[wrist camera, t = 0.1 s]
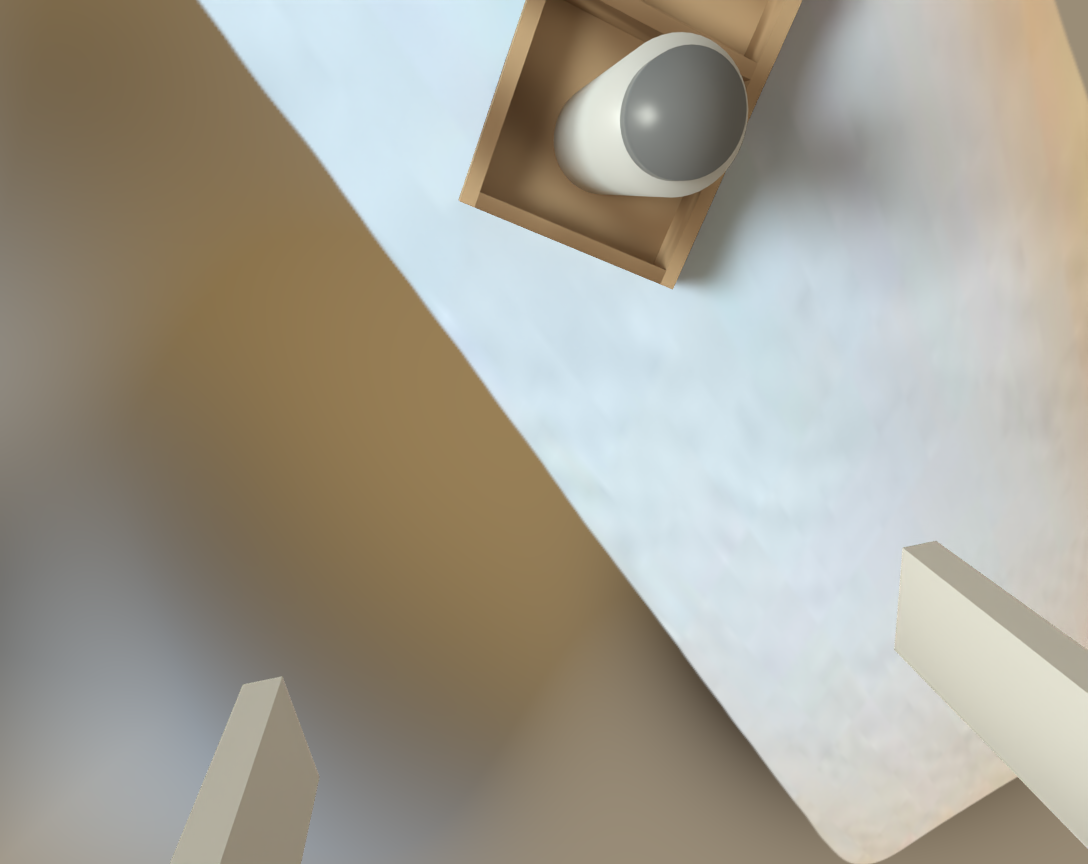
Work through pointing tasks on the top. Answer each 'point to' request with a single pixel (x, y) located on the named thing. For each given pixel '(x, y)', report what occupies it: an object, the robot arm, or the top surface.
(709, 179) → the white and grey cylinder
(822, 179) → the top surface
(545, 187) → the caddy
